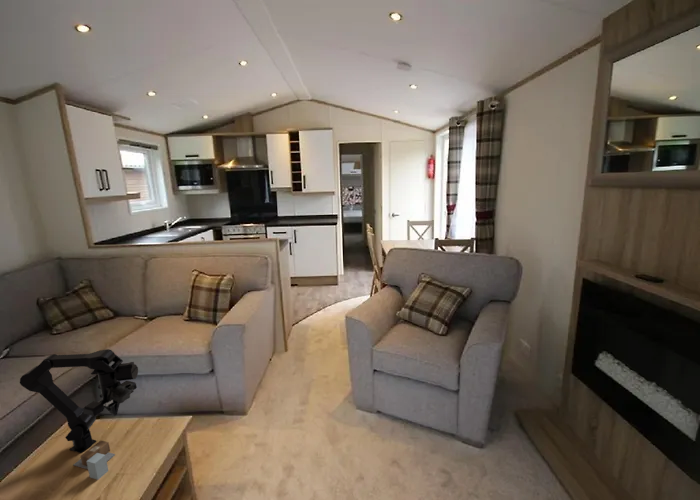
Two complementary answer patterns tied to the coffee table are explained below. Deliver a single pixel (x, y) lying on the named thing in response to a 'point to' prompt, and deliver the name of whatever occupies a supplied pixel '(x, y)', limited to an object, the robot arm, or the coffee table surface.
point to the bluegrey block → (97, 466)
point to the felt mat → (79, 464)
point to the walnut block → (95, 451)
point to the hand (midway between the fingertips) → (115, 415)
